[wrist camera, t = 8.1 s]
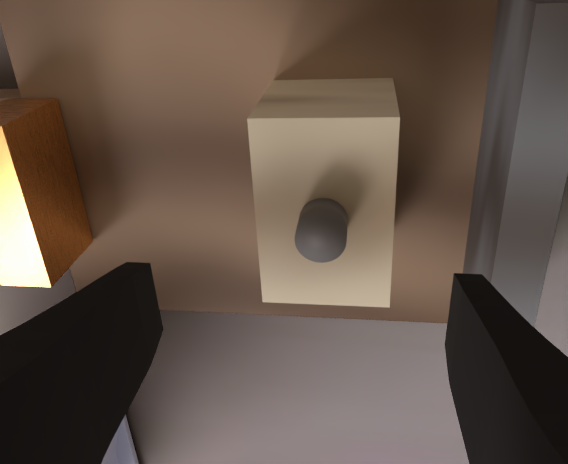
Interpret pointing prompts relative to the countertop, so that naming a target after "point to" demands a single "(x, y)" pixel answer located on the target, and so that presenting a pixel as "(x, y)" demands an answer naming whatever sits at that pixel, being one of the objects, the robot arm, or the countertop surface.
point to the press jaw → (38, 195)
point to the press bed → (304, 66)
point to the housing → (325, 190)
